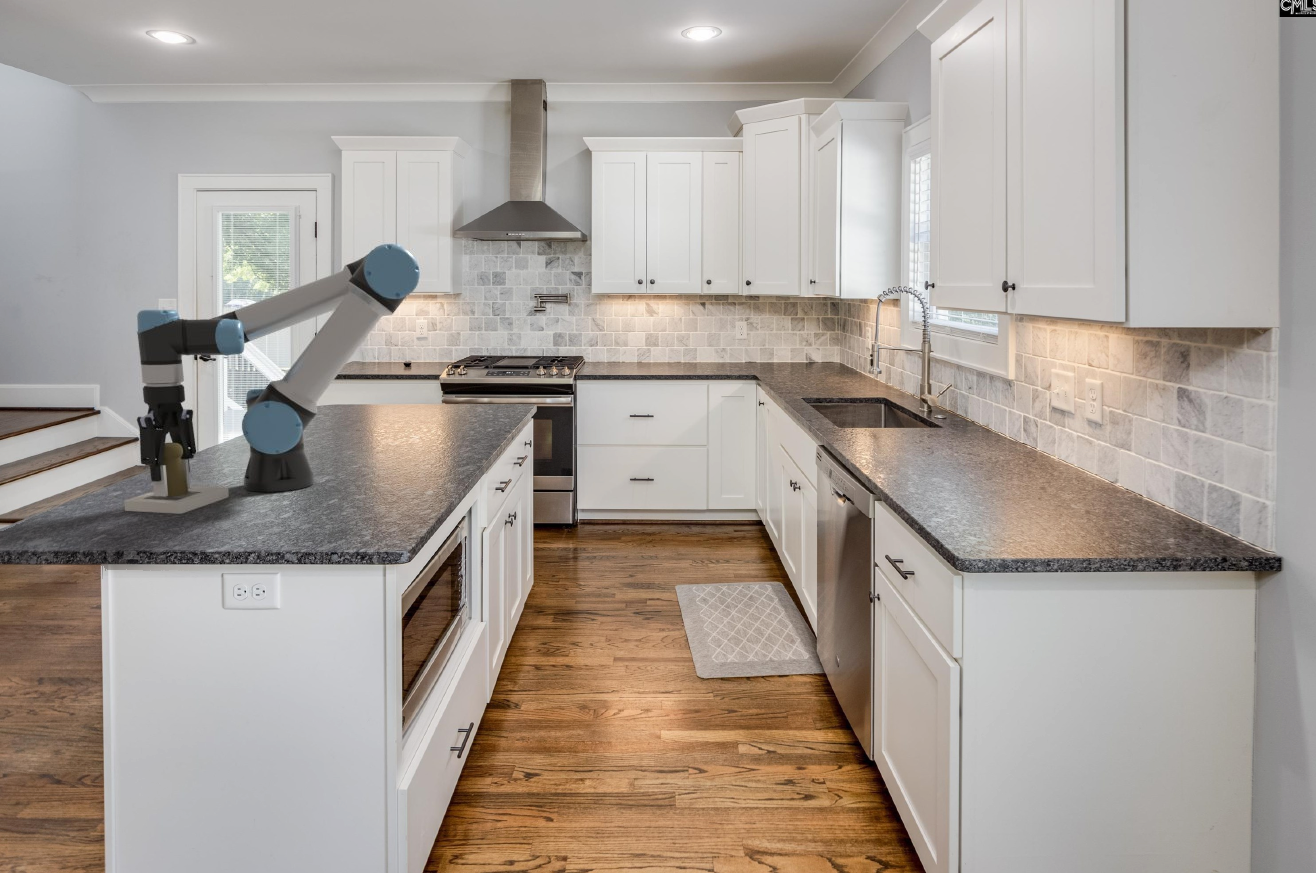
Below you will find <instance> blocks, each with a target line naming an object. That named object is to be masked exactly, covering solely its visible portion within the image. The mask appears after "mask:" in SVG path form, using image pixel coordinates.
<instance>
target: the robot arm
mask: <svg viewBox="0 0 1316 873" xmlns="http://www.w3.org/2000/svg"><path fill="white" fill-rule="evenodd" d="M420 276H421V275H420V267H419V263H418V261H417V260H416V258H415V257H414V255H413V254H412V253H411V252H410V251H409V250H408V249H406V248H404V247H402V246H400V245H398V244H394V243H384V244H380V245H378V246H375V248H373V249H372V250H371V251H370V252H368V253H367V254H366V255H365V256H363V257H361V258H359V259H357V260H355V261H354V262H351V263H348V264H345V265H344V267H343V269H342V270H341V271H339V272H336V273H334V274H331V275H328V276H325V277H322V278H320V279H317V280H314V281H312V282H309V283H307V284H303V285H300V286H298V287H295V288H293V289H290V290H287V291H284V292H282V293H281V292H280V293H279V294H275V295H273V296H271V297H268V298H265V299H262V300H259V301H258V302H254V303H251V304H248V305H246V306H243V307H240V308H237V309H235V310H233V311H230V312H226V313H224V314H221V315H218V316H214V317H212V318H208V319H206V318H205V319H185V318H180V316H179V312H178V311H177V310H176V309H142V310H139V311H138V313H137V315H136V317H137V331H136V334H137V341H138V350H139V360H140V367H141V368H140V369H141V378H142V381H141V382H142V383H143V384H145V385H144V386H143V387H142V395H143V397H142V398H143V403H144V404H146V405H148V410H147V414H145V415H144V416H137V418H136V421H137V425H138V429H139V450H140V452H139V453H140V464H141V465H144V466H148V467H149V471H150V480H151V482H152V489H153V491H152V492H154V496H163V497H166V496H168V488H167V477H166V465H162V461H163V454H164V447H165V443H166V440H167V435H168V434H169V436H170V439H171V441H172V442H171V443H178V444H180V445H181V446H182V448H183V454H182V456H181V462H182V467H183V471H184V475H185V479H186V483H187V488H188V489H190V486H191V478H190V472H191V469H190V468H191V466H190V460H192V459H194V457H195V455H196V453H197V446H196V439H195V438H196V437H195V430H194V424H193V418H194V410H193V409H189V408H186V409H185V408H183V405H182V403H184V402H185V401H186V394H185V386H184V384H182V383H183V382H184V381H185V379H184V377H185V376H184V366H183V365H184V364H183V356H226V357H228V356H231V355H233V356H234V355H242V354H243V353H244V351H245V344H246V343H247V344H248V343H249V342H251V341H254V340H258V339H260V338H263V337H265V336H267V335H271V334H273V333H276V332H279V331H281V330H285V329H286V328H287V329H288V328H289V327H292V326H295V325H298V324H300V323H302V322H305V321H308V320H311V319H314V318H316V317H319V316H321V315H324V314H327V313H329V312H332V311H333V313H332V314H331V315H330V316H329V318H328V319H327V320H326V321H325V323H324V324H323V325H322V326H321V328H320V329H319V331H318V332H317V333H316V334H315V336H314V337H313V338H312V340H310V342H309V344H308V345H307V346H306V347H305V349H304V350H303V352H301V354H300V355H299V357H297V359H296V361H295V362H294V363H293V365H291V367H290V368H289V369H288V370H287V372H286V374H285V375H284V376H283V377H282V379H278V380H272V381H270V382H269V383H268V385H267V386H266V387H265V388H257V389H256V388H254V389H250V390H248V391H247V392H246V399H245V404H246V409H247V411H246V412H245V414H244V415H243V418H242V420H241V421H242V422H241V431H242V434H243V436H244V438H245V440H246V442H247V444H249V454H250V455H249V460H248V462H247V465H246V466H247V467H246V470H245V473H244V476H243V484H244V485H243V487H244V489H245V490H247V491H250V492H258V493H259V492H261V493H273V492H274V493H276V492H287V491H293V490H299V489H304V488H307V487H310V486H313V485H314V484H315V479H314V478H315V477H314V476H315V475H314V472H313V470H312V468H311V465H310V462H309V460H308V458H307V455H306V452H305V442H304V431H305V429H306V428H307V427H308V425H309V424H310V423H311V422H312V420H313V419H315V417H316V415H317V414H318V412H319V411H318V406H317V405H318V404H317V403H318V401H319V399H321V397H322V396H323V394H324V393H325V392H326V391H327V389H328V388H329V386H330V385H331V384H332V383H333V381H334V380H335V379H336V377H337V376H338V374H339V373H340V372H341V371H342V369H343V368H344V367H345V366H346V364H347V363H348V362H349V361H350V359H351V358H352V357H353V355H354V354H355V352H356V351H357V350H358V349H359V347H360V346H361V344H362V343H363V342H364V341H365V339H366V338H367V337H368V336H369V334H370V333H371V331H372V330H373V329H374V328H375V326H376V325H377V323H378V322H379V321H380V320H381V319H382V317H386V316H392V315H393V314H394V313H395V311H396V310H397V309H398V308H399V307H400V305H401V304H402V303H403V301H404V300H405V299H406V298H407V296H409V295H410V294H412V293H413V292H414V291H415V289H417V286H418V284H419V281H420Z"/></svg>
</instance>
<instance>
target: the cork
mask: <svg viewBox="0 0 1316 873" xmlns="http://www.w3.org/2000/svg"><path fill="white" fill-rule="evenodd" d="M182 454H183V448H182V446H181V445H180V444H178V443H172V442H165V447H164V454H163V461H162V465H166V477H167V488H168V496H166V497H177V496H182V495H186V494H188V493H189V492H188V488H187V483H186V479H185V475H184V471H183V467H182V462H181V456H182ZM157 497H163V496H157Z"/></svg>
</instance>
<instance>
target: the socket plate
mask: <svg viewBox="0 0 1316 873" xmlns="http://www.w3.org/2000/svg"><path fill="white" fill-rule="evenodd" d="M188 492H189V493H188V494H186V495H182V496H177V497H157V496H154V491H152V492H148V493H143V494H141V495H138V496H135V497H134V496H133V497H131V498H128V499H124V500H123V503H124V505H123V506H124V512H139V513H140V512H141V513H142V512H144V513H156V514H157V513H159V514H160V513H161V514H185V513H188V512H190V511H194V510H196V509H200V508H203V507H204V506H207V505H211V504H214V503H217V502H219V501H221V500H225V499H227V498H229V487H228V486H227V487H224V486H203V485H190V489H188Z"/></svg>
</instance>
